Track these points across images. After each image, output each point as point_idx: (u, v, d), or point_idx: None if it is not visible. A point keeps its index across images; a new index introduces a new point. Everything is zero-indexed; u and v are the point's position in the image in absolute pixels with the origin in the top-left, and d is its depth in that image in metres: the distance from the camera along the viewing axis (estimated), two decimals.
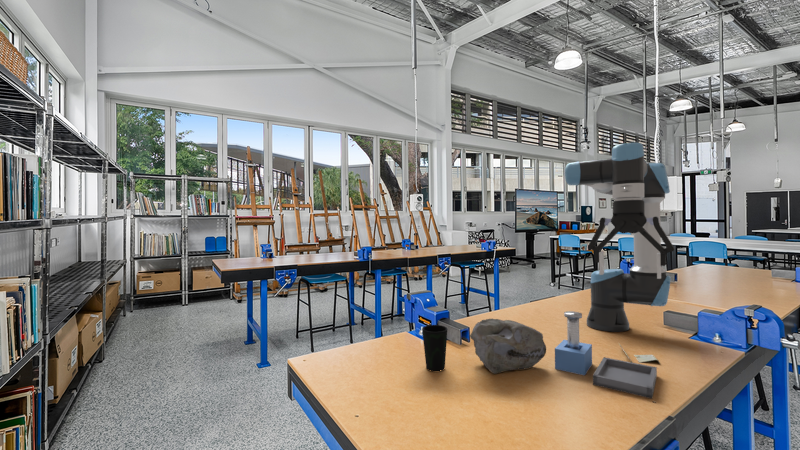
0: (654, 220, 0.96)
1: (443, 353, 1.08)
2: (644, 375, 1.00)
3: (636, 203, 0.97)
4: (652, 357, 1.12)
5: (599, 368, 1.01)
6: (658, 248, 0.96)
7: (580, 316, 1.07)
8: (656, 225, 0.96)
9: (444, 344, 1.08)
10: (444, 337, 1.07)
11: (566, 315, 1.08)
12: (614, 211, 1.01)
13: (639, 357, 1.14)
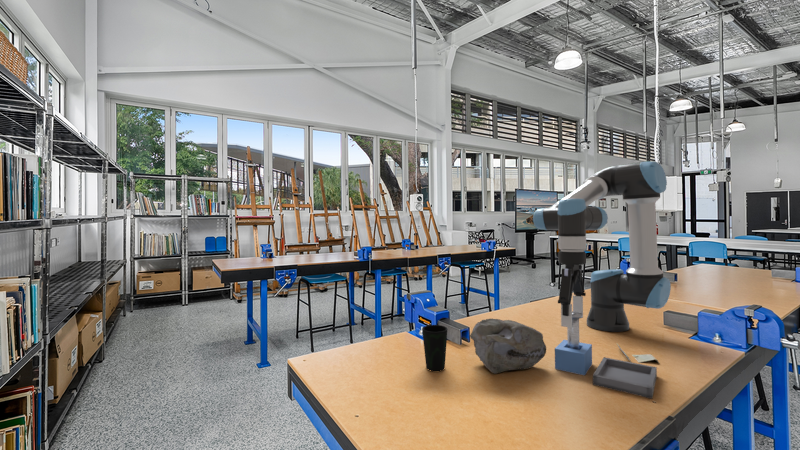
0: None
1: (443, 353, 1.08)
2: (644, 375, 1.00)
3: (559, 254, 1.09)
4: (651, 357, 1.12)
5: (599, 368, 1.01)
6: None
7: (580, 316, 1.07)
8: (562, 276, 1.04)
9: (444, 344, 1.08)
10: (444, 337, 1.07)
11: None
12: None
13: (638, 357, 1.14)
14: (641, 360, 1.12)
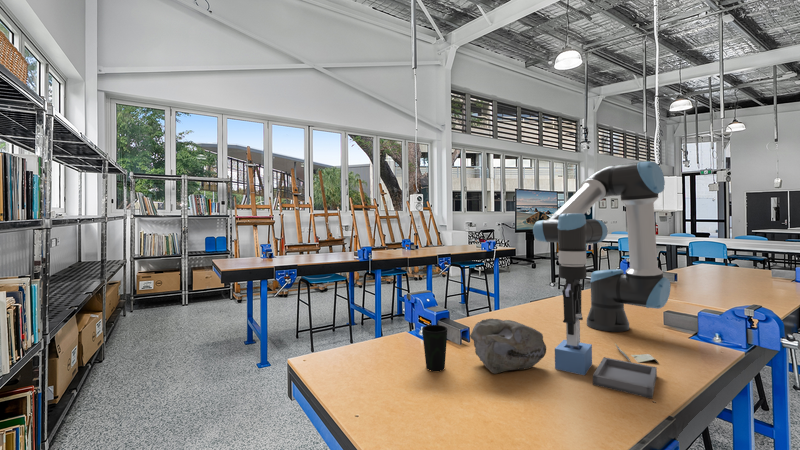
0: None
1: (443, 353, 1.08)
2: (644, 375, 1.00)
3: (559, 268, 1.09)
4: (650, 357, 1.12)
5: (599, 368, 1.01)
6: None
7: (580, 316, 1.07)
8: None
9: (444, 344, 1.08)
10: (444, 337, 1.07)
11: None
12: None
13: (637, 357, 1.15)
14: (640, 360, 1.12)
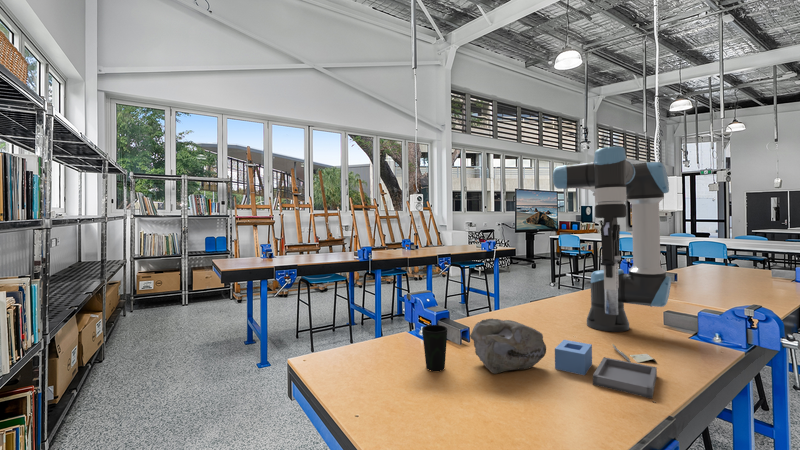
0: None
1: (443, 353, 1.08)
2: (644, 375, 1.00)
3: (596, 207, 1.01)
4: (648, 356, 1.13)
5: (599, 368, 1.01)
6: None
7: (619, 258, 0.99)
8: None
9: (444, 344, 1.08)
10: (444, 337, 1.07)
11: None
12: None
13: (635, 357, 1.15)
14: (639, 360, 1.12)
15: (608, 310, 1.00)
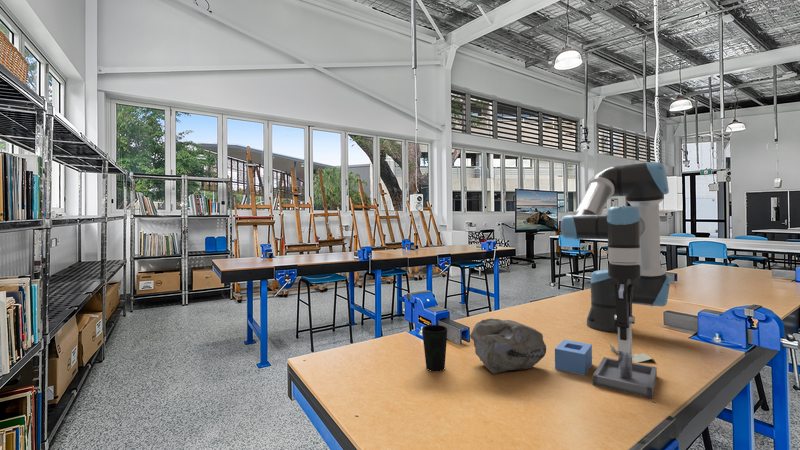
0: None
1: (443, 353, 1.08)
2: (644, 375, 1.00)
3: (610, 267, 0.99)
4: (646, 356, 1.13)
5: (599, 368, 1.01)
6: None
7: (633, 320, 0.97)
8: (616, 298, 0.95)
9: (444, 344, 1.08)
10: (444, 337, 1.07)
11: None
12: None
13: (633, 357, 1.15)
14: (638, 360, 1.12)
15: (622, 372, 0.98)
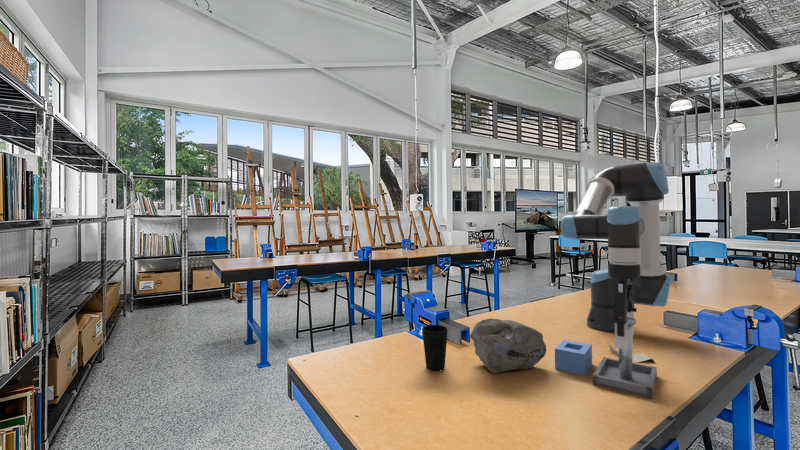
0: None
1: (443, 353, 1.08)
2: (644, 375, 1.00)
3: (610, 267, 0.99)
4: (646, 356, 1.13)
5: (599, 368, 1.01)
6: None
7: (635, 322, 0.97)
8: (615, 292, 0.95)
9: (444, 344, 1.08)
10: (444, 337, 1.07)
11: None
12: None
13: (633, 357, 1.15)
14: (638, 360, 1.12)
15: (622, 374, 0.98)
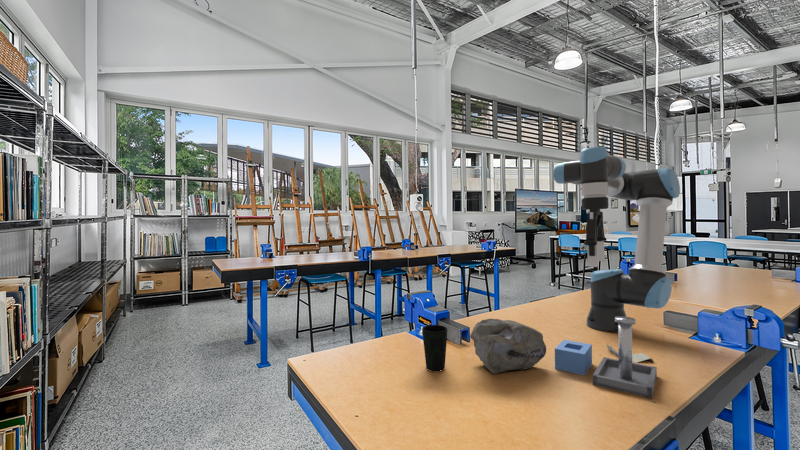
0: None
1: (443, 353, 1.08)
2: (644, 375, 1.00)
3: (583, 200, 1.15)
4: (644, 356, 1.13)
5: (599, 368, 1.01)
6: None
7: (634, 322, 0.97)
8: (587, 220, 1.11)
9: (444, 344, 1.08)
10: (444, 337, 1.07)
11: (618, 320, 0.98)
12: None
13: None
14: (637, 360, 1.12)
15: (622, 374, 0.98)
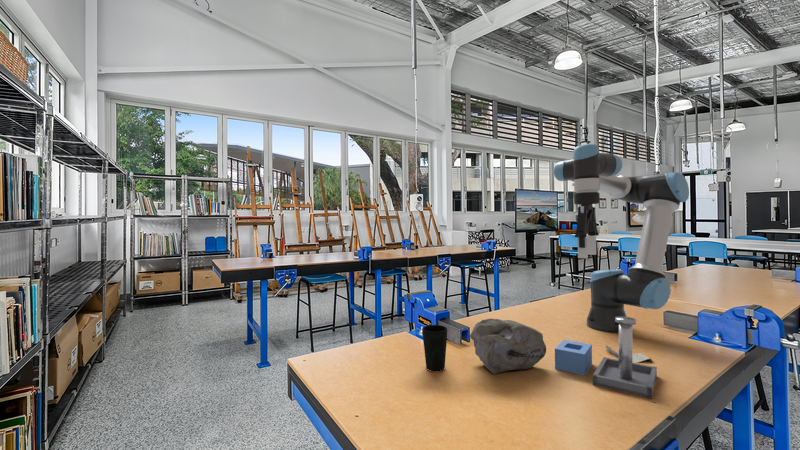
0: None
1: (443, 353, 1.08)
2: (644, 375, 1.00)
3: (575, 195, 1.20)
4: (644, 356, 1.13)
5: (599, 368, 1.01)
6: None
7: (634, 322, 0.97)
8: (578, 213, 1.16)
9: (444, 344, 1.08)
10: (444, 337, 1.07)
11: (618, 321, 0.98)
12: None
13: None
14: (637, 360, 1.12)
15: (622, 374, 0.98)
